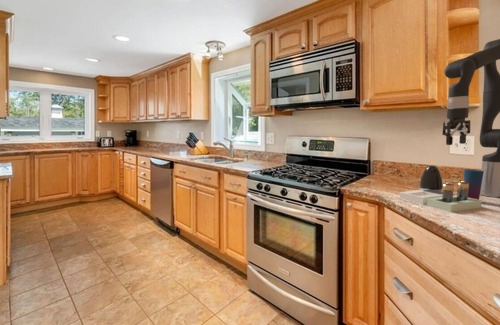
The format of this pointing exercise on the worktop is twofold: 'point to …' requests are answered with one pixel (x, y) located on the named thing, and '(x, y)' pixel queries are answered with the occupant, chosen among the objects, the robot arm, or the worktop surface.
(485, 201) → the worktop surface
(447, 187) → the cell
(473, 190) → the cup
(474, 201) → the trough rack
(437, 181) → the black tapered dome
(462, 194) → the cell
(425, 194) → the battery tester
